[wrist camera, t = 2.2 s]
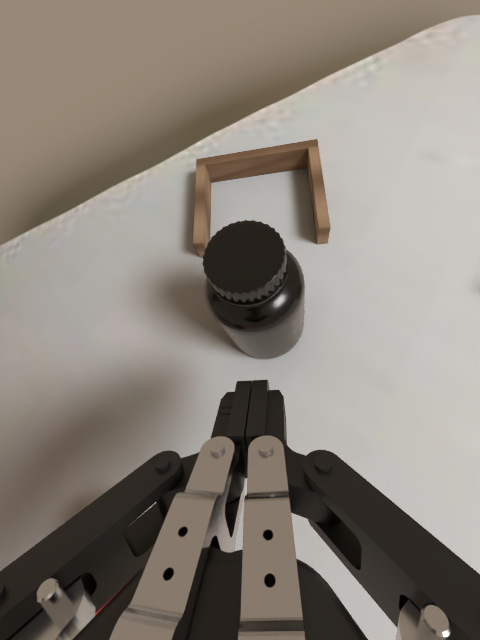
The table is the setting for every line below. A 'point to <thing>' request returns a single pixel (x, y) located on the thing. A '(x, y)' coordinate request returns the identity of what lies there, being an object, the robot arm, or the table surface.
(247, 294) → the supplement bottle
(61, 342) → the table surface
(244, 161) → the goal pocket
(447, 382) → the table surface
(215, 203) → the table surface
